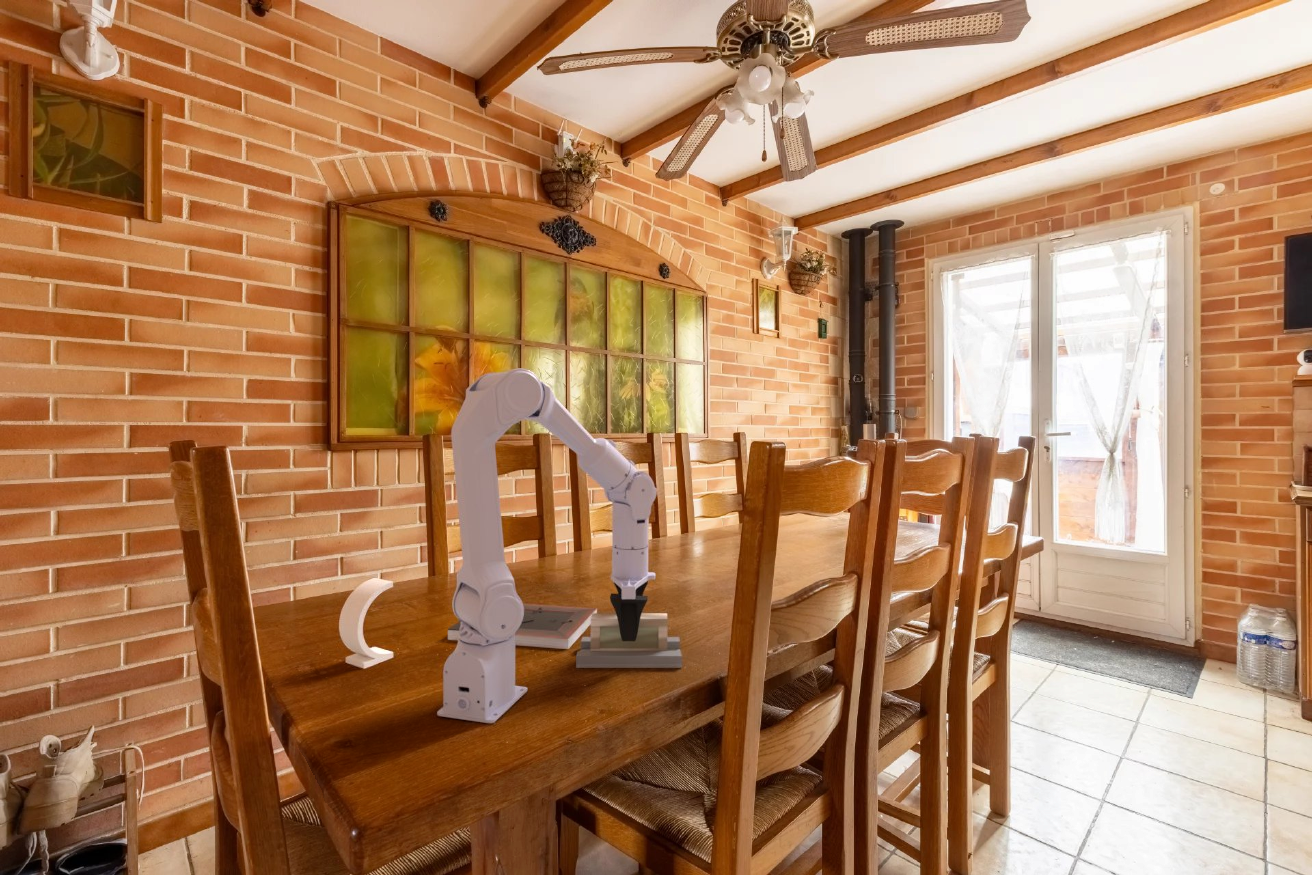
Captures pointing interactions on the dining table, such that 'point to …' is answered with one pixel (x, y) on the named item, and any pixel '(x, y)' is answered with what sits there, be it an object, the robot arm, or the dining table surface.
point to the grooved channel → (630, 657)
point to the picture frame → (546, 626)
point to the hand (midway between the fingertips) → (629, 631)
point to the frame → (648, 639)
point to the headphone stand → (361, 624)
